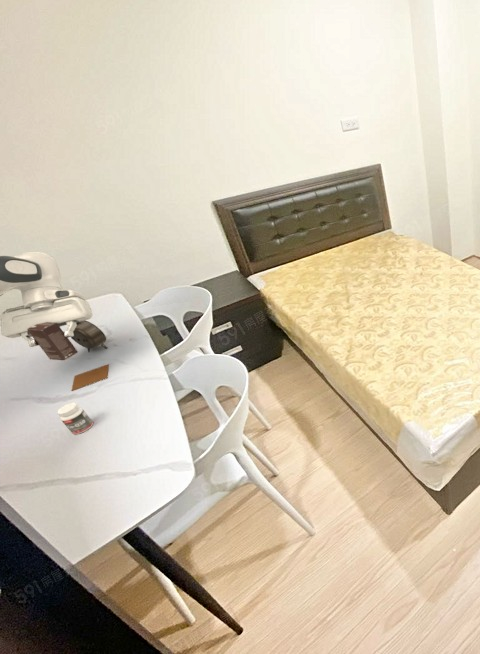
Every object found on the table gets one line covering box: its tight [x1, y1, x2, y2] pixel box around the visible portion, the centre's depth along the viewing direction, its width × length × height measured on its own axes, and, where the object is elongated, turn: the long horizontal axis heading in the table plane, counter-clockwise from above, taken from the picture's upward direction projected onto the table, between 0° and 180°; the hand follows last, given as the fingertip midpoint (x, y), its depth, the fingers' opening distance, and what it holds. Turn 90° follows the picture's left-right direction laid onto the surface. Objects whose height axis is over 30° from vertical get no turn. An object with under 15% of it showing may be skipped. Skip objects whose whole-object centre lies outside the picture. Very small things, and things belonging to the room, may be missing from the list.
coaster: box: [71, 363, 110, 391], centre depth 136 cm, size 9×9×1 cm
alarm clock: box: [70, 320, 108, 353], centre depth 146 cm, size 11×5×16 cm, turn 76°
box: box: [27, 322, 79, 361], centre depth 124 cm, size 6×4×12 cm
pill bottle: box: [57, 402, 94, 435], centre depth 115 cm, size 5×5×8 cm
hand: (52, 341), depth 124 cm, fingers closed on box, 7 cm apart
